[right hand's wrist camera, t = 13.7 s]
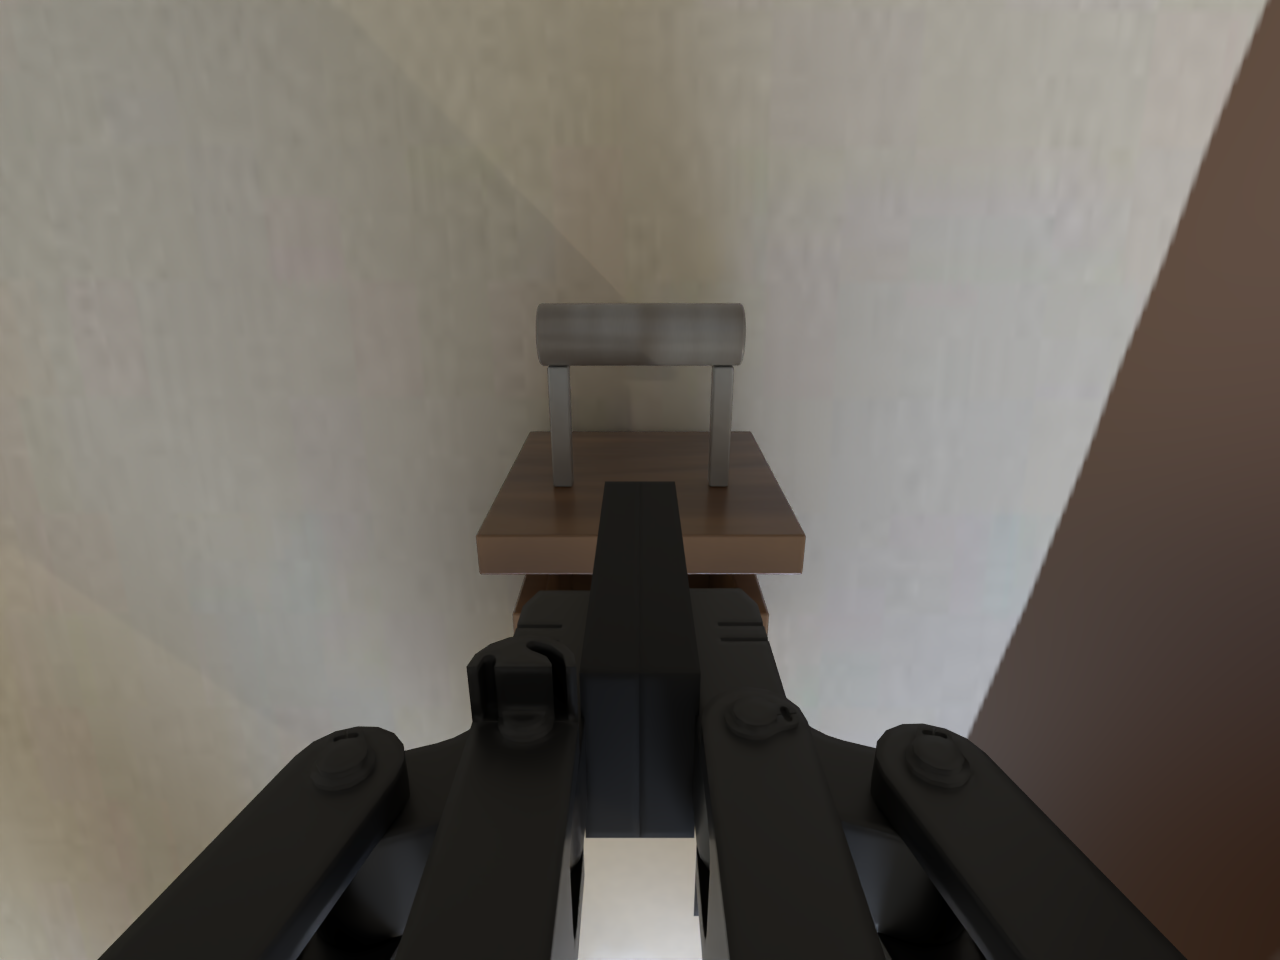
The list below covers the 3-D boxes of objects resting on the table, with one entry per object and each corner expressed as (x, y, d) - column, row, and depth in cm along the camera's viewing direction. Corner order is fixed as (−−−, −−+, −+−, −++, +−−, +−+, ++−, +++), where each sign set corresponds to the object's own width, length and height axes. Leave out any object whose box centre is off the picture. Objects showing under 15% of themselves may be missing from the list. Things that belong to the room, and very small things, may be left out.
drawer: (521, 285, 25) (454, 322, 16) (760, 285, 25) (827, 321, 16) (551, 786, 33) (519, 992, 25) (729, 786, 33) (762, 992, 25)
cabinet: (531, 613, 31) (474, 819, 20) (749, 613, 31) (807, 819, 20) (551, 913, 38) (517, 1183, 27) (729, 913, 38) (764, 1183, 27)
